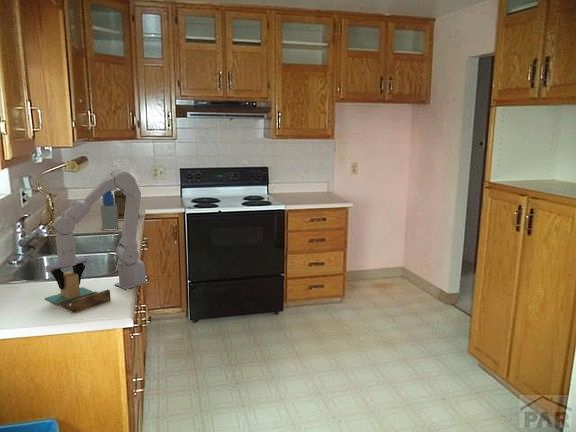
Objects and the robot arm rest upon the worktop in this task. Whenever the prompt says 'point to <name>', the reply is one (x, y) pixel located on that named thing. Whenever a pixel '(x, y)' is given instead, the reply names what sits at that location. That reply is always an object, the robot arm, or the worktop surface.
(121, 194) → the wooden container
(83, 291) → the mat
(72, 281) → the block
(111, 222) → the spray bottle
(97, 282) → the worktop surface
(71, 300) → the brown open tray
